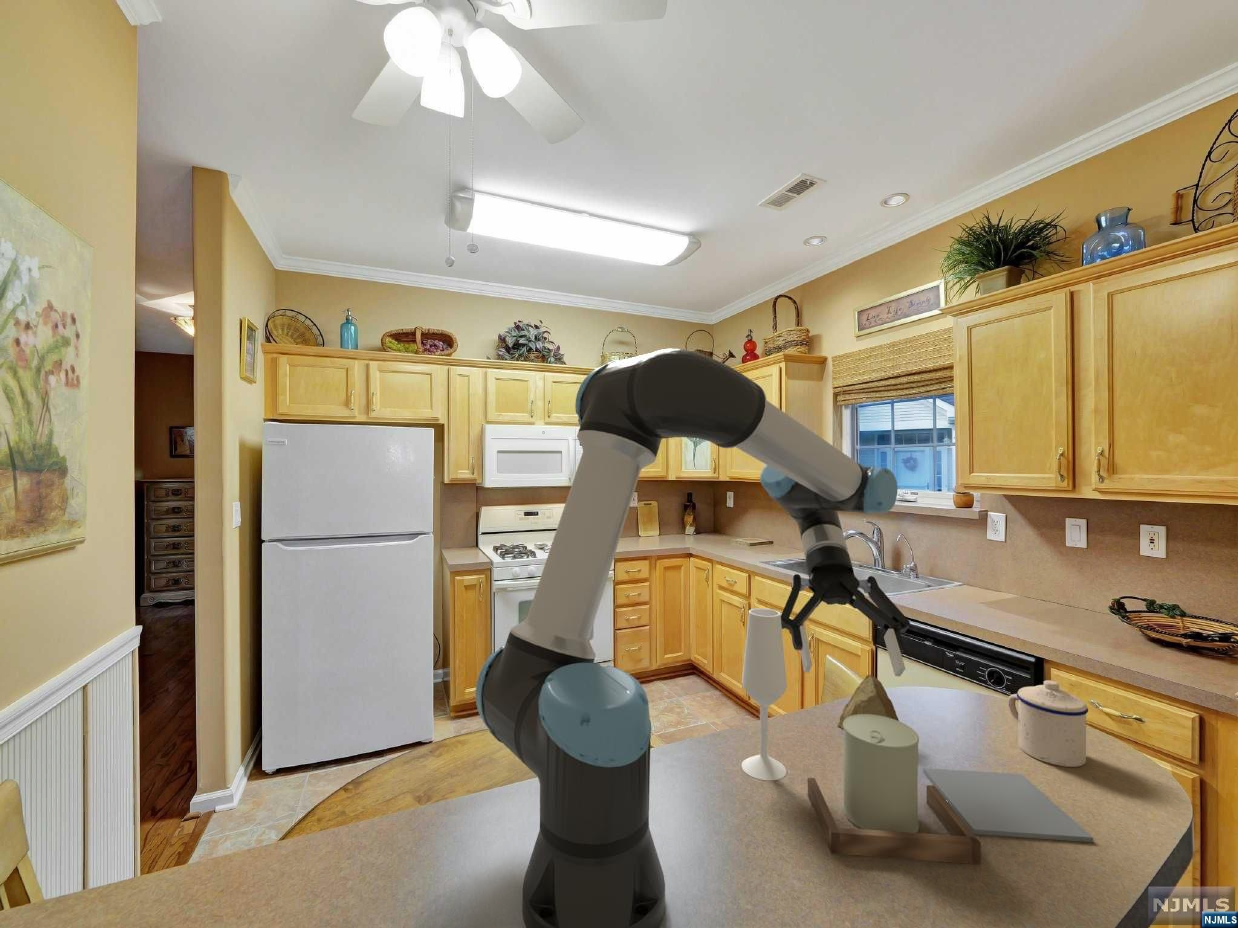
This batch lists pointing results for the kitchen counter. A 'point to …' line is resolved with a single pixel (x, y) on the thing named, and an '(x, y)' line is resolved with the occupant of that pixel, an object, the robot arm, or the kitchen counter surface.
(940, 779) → the slate tile
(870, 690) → the rock
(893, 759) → the can
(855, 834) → the walnut stall
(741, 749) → the kitchen counter surface
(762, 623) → the champagne flute
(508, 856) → the kitchen counter surface
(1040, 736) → the teacup with lid
